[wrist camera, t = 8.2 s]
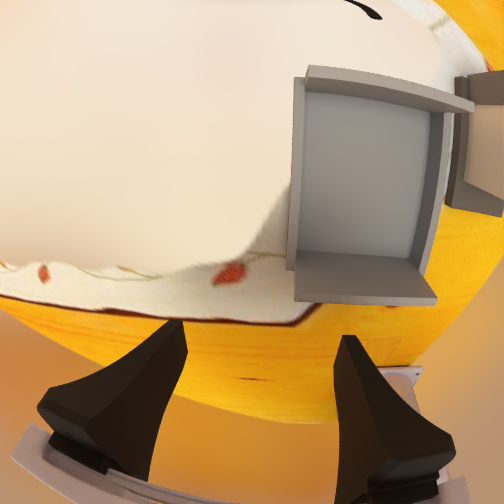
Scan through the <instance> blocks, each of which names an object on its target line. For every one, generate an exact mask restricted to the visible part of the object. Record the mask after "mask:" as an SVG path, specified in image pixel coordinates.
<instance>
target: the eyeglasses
mask: <svg viewBox="0 0 504 504" xmlns="http://www.w3.org/2000/svg"><path fill="white" fill-rule="evenodd" d="M345 1H348V2H350V3H352V4H355V5H357V6H359V7H360V8H361V9H363V10H364V11H365V12H366V13H367V15H368V16H369V17H370V18H372V19H375V20H382V19H383V18H382V17H381V16H380V15H379V14H378V13H377V12H375V11H374V10H373V9H371V8H370V7H368V6H365V5H363V4H361V3H359V2H356V1H353V0H345Z"/></svg>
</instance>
